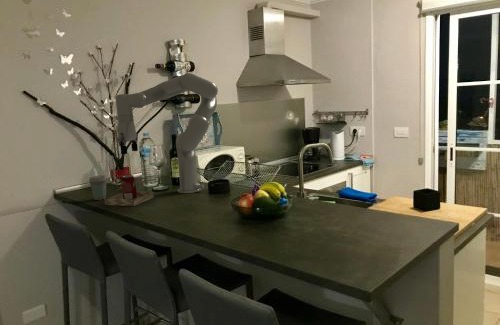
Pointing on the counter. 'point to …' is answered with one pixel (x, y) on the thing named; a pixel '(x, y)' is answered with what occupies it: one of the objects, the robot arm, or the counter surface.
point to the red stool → (128, 187)
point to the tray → (123, 202)
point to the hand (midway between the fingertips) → (129, 152)
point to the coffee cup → (98, 187)
